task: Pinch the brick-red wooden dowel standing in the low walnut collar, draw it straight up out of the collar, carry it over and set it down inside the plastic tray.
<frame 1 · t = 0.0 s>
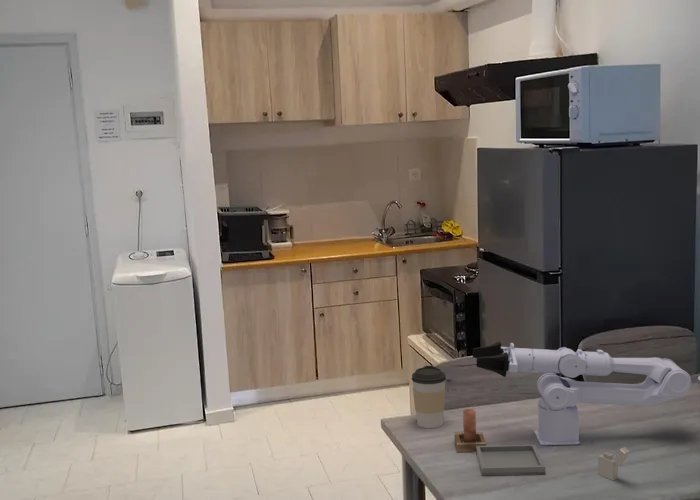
hand: (474, 357, 180), 22 cm above the table, tool horizontal, fingers open, 7 cm apart
coffee cup: (430, 423, 196), on the table
collar: (470, 445, 181), on the table
dowel: (470, 446, 181), resting in collar
lighter: (613, 479, 161), on the table
tray: (509, 463, 170), on the table
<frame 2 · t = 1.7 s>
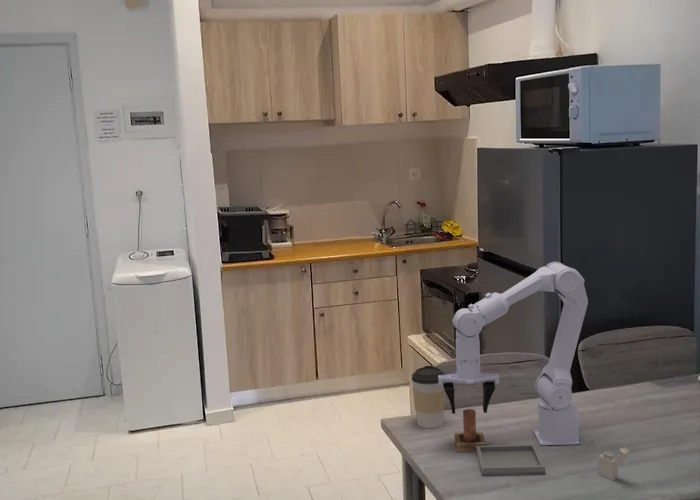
hand: (469, 411, 179), 9 cm above the table, tool pointing down, fingers open, 7 cm apart
nothing on the table moved.
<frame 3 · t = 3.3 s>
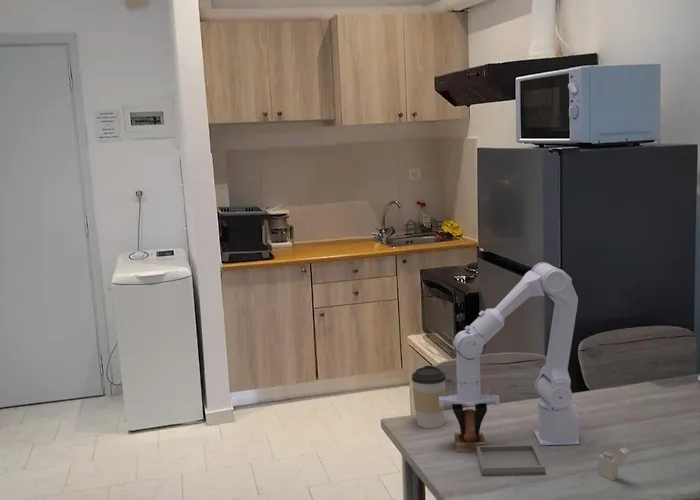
hand: (469, 432, 180), 3 cm above the table, tool pointing down, fingers closed on dowel, 3 cm apart
dowel: (470, 446, 181), resting in collar, touching gripper
everything else where it was.
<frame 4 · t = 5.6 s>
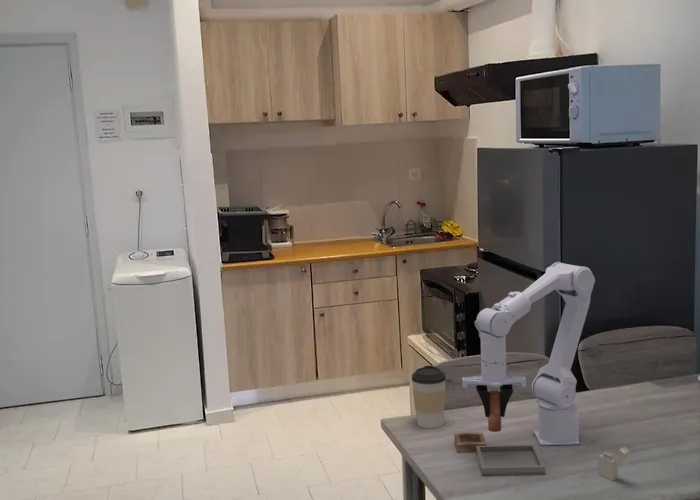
hand: (494, 415, 172), 10 cm above the table, tool pointing down, fingers closed on dowel, 3 cm apart
dowel: (494, 429, 173), point 7 cm above the table, touching gripper
everything else where it was.
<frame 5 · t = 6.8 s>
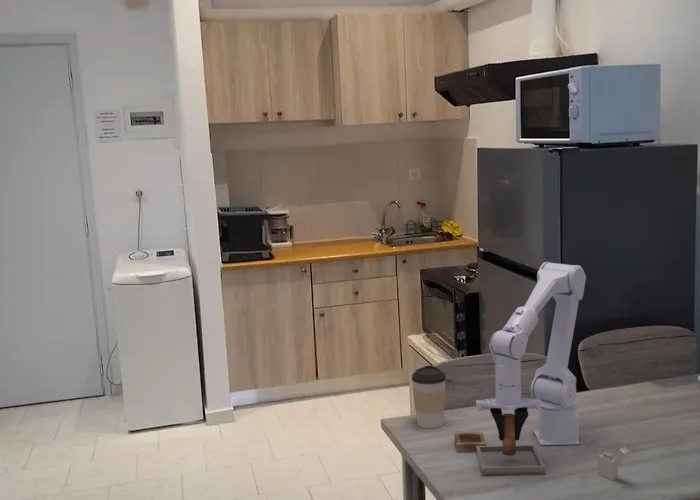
hand: (509, 438, 169), 6 cm above the table, tool pointing down, fingers closed on dowel, 3 cm apart
dowel: (509, 452, 170), point 3 cm above the table, touching gripper
everything else where it was.
when the fingers open (5 cm above the table, at t = 7.8 s): dowel stays where it is, resting on tray.
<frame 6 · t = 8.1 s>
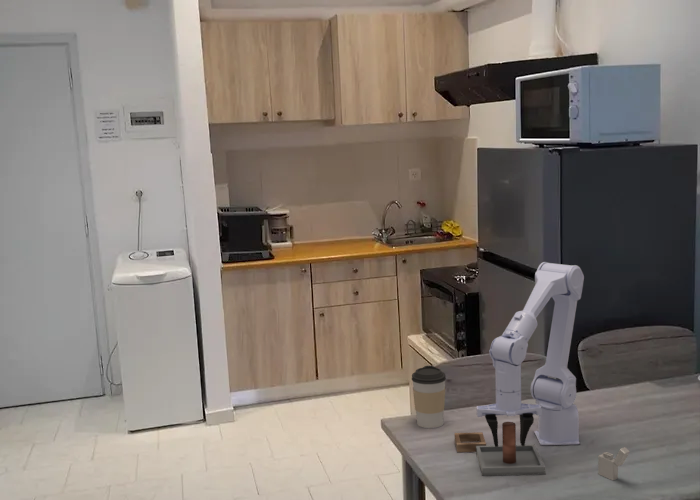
hand: (509, 444, 170), 5 cm above the table, tool pointing down, fingers open, 5 cm apart
dowel: (509, 460, 170), point 1 cm above the table, touching tray
everything else where it was.
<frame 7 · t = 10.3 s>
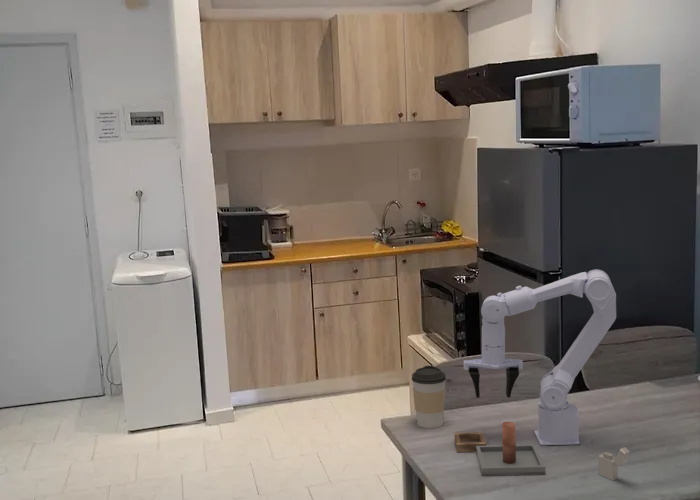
hand: (492, 396, 185), 10 cm above the table, tool pointing down, fingers open, 7 cm apart
nothing on the table moved.
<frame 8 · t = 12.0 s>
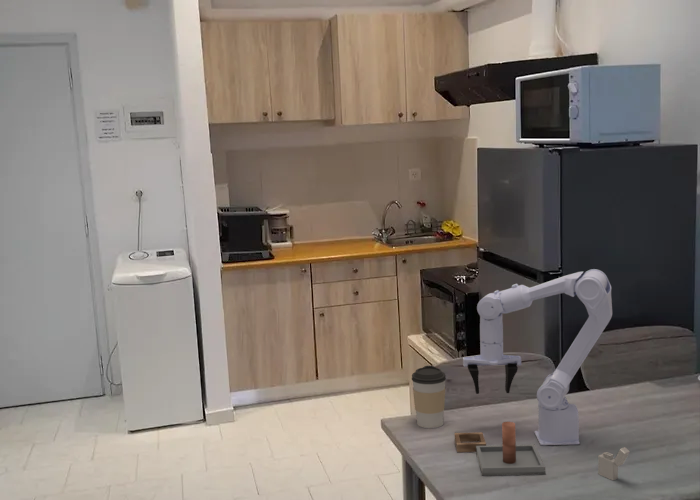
hand: (492, 392, 188), 10 cm above the table, tool pointing down, fingers open, 7 cm apart
nothing on the table moved.
at the end: dowel inside the target area on the tray (0.0 cm from its centre), point 0.6 cm above the tray's base; the gripper is holding nothing; dowel moved 12.8 cm from its start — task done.
